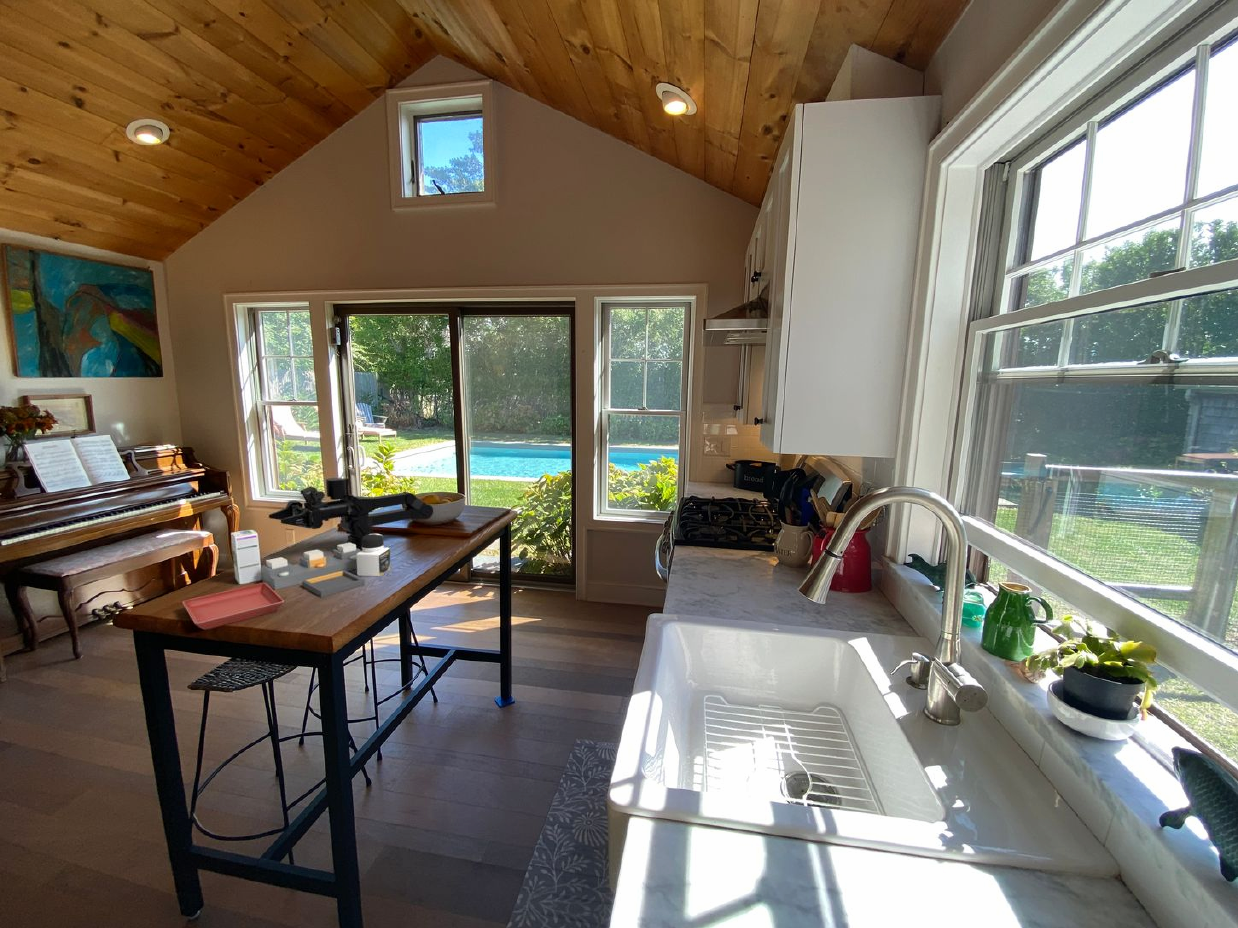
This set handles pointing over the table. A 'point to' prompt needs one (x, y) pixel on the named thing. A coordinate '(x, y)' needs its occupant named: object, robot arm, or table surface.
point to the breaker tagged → (313, 554)
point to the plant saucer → (232, 605)
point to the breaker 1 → (276, 563)
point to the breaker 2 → (346, 547)
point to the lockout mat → (333, 583)
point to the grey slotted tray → (309, 569)
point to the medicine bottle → (373, 556)
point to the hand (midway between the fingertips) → (274, 519)
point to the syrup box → (246, 556)
